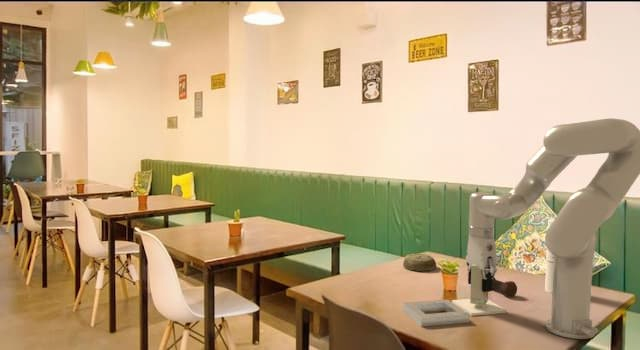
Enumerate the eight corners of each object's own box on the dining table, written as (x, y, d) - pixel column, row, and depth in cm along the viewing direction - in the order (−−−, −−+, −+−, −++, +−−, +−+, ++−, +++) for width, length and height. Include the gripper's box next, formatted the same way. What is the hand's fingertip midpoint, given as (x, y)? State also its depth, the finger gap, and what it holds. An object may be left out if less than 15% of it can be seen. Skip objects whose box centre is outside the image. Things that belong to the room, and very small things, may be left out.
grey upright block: (484, 306, 149) (485, 267, 148) (469, 303, 151) (470, 265, 150) (488, 300, 155) (489, 262, 154) (474, 298, 157) (475, 261, 156)
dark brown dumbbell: (482, 289, 178) (513, 300, 164) (473, 283, 176) (502, 294, 162) (489, 274, 179) (519, 285, 165) (479, 269, 177) (509, 279, 163)
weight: (417, 274, 191) (417, 261, 191) (396, 266, 203) (396, 254, 202) (443, 269, 198) (443, 257, 197) (420, 262, 209) (421, 250, 209)
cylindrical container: (565, 295, 165) (568, 223, 163) (542, 291, 170) (545, 221, 168) (569, 290, 171) (572, 220, 169) (547, 286, 175) (550, 218, 173)
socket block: (468, 322, 141) (469, 313, 141) (421, 326, 137) (421, 318, 137) (447, 307, 153) (447, 299, 153) (403, 310, 150) (403, 302, 150)
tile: (506, 312, 149) (506, 310, 149) (471, 315, 146) (471, 313, 146) (484, 299, 160) (484, 297, 160) (451, 302, 158) (451, 300, 158)
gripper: (508, 237, 144) (506, 295, 145) (476, 226, 161) (475, 279, 162) (486, 238, 142) (484, 297, 143) (456, 227, 159) (455, 280, 160)
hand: (479, 287), depth 153 cm, fingers closed on grey upright block, 7 cm apart
